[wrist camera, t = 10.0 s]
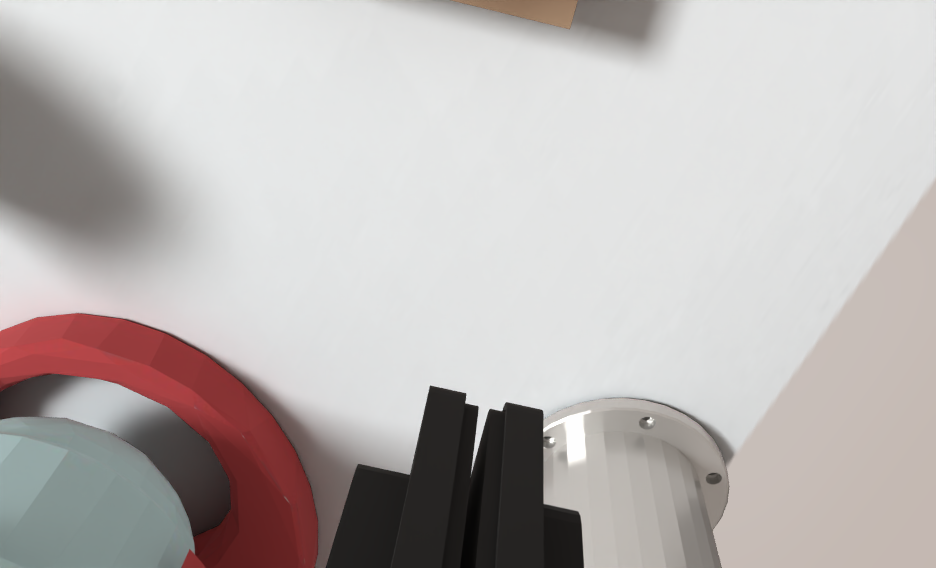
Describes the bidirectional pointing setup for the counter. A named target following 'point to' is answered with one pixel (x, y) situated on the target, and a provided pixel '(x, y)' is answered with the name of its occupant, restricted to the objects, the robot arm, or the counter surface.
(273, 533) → the stand mixer
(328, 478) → the counter surface
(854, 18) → the counter surface
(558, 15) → the board
